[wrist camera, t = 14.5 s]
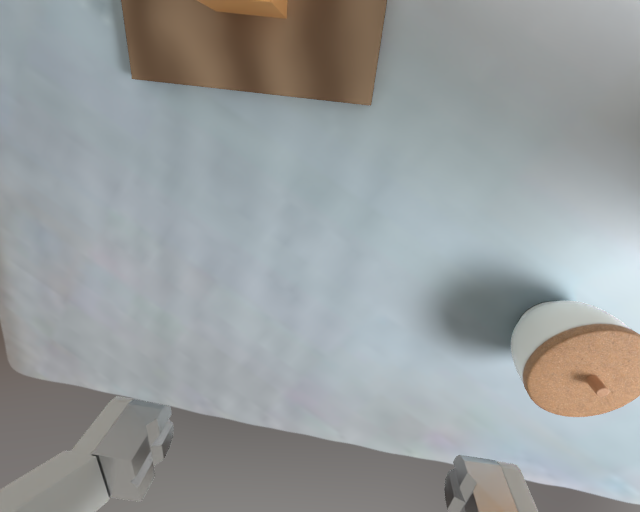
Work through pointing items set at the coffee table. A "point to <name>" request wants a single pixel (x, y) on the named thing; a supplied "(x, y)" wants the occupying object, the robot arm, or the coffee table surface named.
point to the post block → (259, 47)
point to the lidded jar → (576, 358)
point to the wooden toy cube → (250, 7)
